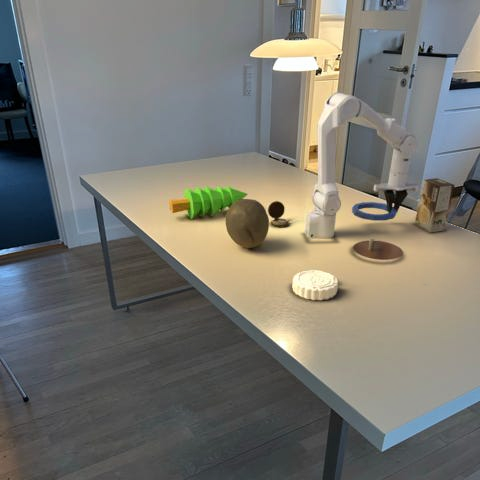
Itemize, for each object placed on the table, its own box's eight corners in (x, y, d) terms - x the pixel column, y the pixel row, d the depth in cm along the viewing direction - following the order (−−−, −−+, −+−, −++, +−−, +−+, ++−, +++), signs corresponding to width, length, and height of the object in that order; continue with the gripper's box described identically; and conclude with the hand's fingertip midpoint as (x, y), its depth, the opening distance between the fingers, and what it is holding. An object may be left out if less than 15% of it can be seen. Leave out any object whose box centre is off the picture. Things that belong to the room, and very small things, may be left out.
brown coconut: (276, 243, 159) (278, 198, 151) (255, 258, 149) (256, 210, 141) (239, 234, 165) (239, 191, 157) (216, 249, 155) (215, 202, 147)
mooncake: (283, 289, 131) (283, 277, 130) (310, 276, 139) (311, 264, 137) (318, 305, 124) (319, 293, 122) (345, 290, 131) (347, 278, 130)
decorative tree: (167, 183, 173) (244, 172, 182) (167, 209, 182) (241, 197, 191) (176, 204, 167) (256, 192, 176) (175, 229, 176) (251, 216, 186)
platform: (359, 263, 146) (361, 249, 144) (347, 244, 159) (348, 231, 157) (409, 262, 147) (412, 249, 145) (392, 243, 160) (395, 230, 157)
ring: (358, 221, 159) (359, 216, 158) (347, 206, 171) (348, 202, 170) (401, 220, 160) (402, 215, 159) (387, 206, 172) (388, 201, 171)
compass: (274, 228, 170) (275, 208, 167) (267, 220, 177) (267, 201, 173) (295, 226, 172) (297, 206, 169) (287, 218, 179) (288, 199, 175)
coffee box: (445, 230, 170) (456, 184, 162) (430, 232, 168) (440, 186, 160) (427, 222, 177) (437, 177, 169) (413, 224, 175) (422, 179, 167)
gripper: (381, 174, 155) (374, 216, 162) (425, 174, 155) (417, 215, 163) (374, 169, 161) (368, 209, 168) (417, 168, 161) (409, 208, 169)
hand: (392, 211), depth 166 cm, fingers closed on ring, 1 cm apart
